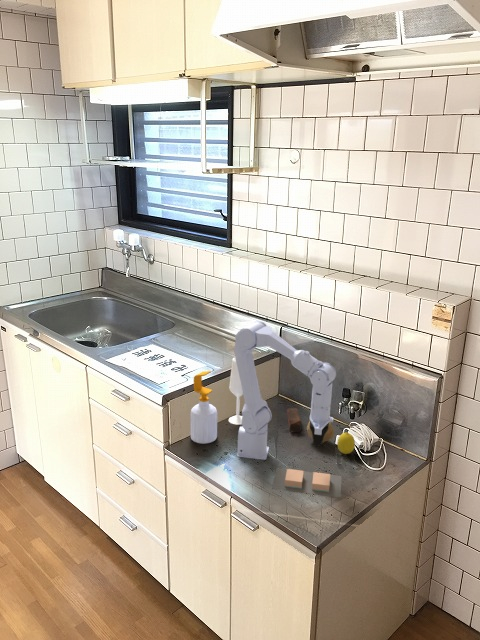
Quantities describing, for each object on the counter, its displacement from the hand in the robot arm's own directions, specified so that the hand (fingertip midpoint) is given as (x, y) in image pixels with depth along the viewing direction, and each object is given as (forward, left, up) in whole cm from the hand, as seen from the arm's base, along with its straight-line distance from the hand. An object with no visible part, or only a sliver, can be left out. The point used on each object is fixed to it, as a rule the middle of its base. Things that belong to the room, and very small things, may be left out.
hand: (317, 444), depth 170 cm
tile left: (-6, -4, -9) cm, 11 cm away
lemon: (+9, +13, -11) cm, 19 cm away
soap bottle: (-39, +13, -11) cm, 43 cm away
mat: (-2, -6, -10) cm, 12 cm away
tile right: (+2, -4, -9) cm, 10 cm away
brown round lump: (0, +19, -11) cm, 22 cm away
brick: (-10, +29, -11) cm, 32 cm away
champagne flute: (-30, +28, -10) cm, 43 cm away
